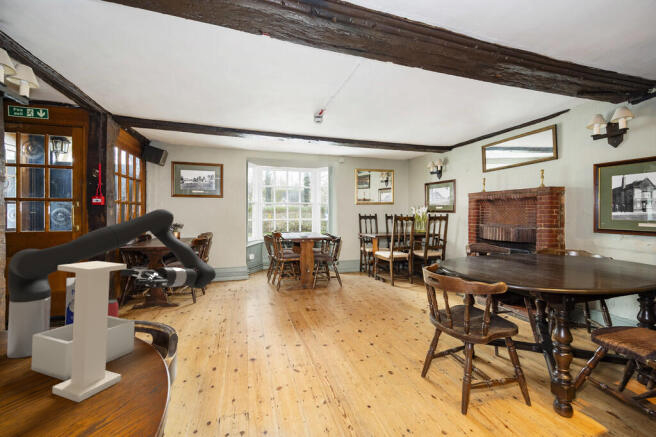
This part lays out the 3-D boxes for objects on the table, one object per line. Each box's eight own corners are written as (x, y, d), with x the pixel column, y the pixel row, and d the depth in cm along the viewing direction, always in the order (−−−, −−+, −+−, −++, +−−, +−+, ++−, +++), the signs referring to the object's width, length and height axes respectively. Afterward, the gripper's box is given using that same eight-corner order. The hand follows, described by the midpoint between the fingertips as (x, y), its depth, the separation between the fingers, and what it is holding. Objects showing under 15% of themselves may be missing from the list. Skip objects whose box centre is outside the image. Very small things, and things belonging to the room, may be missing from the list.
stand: (49, 392, 71) (55, 265, 72) (93, 372, 81) (98, 260, 81) (81, 403, 67) (87, 269, 68) (123, 381, 77) (128, 264, 77)
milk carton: (87, 324, 116) (89, 275, 116) (89, 329, 111) (91, 278, 111) (64, 328, 111) (66, 277, 111) (64, 333, 106) (67, 280, 106)
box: (31, 369, 81) (32, 334, 81) (102, 343, 99) (103, 314, 99) (64, 380, 76) (66, 343, 76) (133, 351, 94) (134, 321, 94)
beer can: (105, 336, 104) (106, 304, 105) (91, 334, 106) (92, 302, 106) (121, 330, 111) (123, 299, 111) (108, 328, 112) (109, 298, 112)
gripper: (163, 261, 114) (120, 259, 99) (185, 274, 108) (143, 274, 93) (156, 279, 114) (112, 279, 99) (178, 293, 107) (135, 295, 93)
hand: (127, 276), depth 96 cm, fingers open, 8 cm apart
